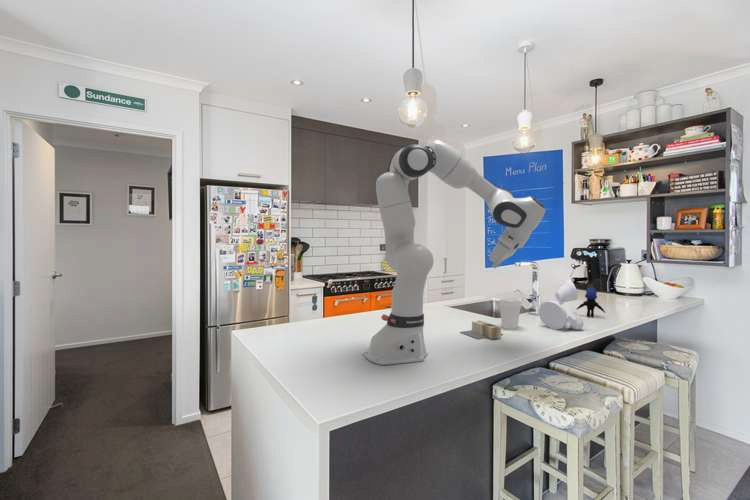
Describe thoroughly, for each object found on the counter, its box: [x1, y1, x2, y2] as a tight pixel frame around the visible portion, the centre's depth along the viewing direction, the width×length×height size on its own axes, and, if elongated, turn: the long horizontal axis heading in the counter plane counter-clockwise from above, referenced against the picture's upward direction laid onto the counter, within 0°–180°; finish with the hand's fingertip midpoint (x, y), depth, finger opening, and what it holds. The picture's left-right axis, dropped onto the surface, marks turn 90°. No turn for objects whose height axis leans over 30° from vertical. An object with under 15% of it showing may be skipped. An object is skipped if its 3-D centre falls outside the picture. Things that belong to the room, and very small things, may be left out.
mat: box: [459, 329, 504, 340], centre depth 159 cm, size 14×11×1 cm
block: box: [471, 320, 502, 340], centre depth 156 cm, size 4×5×12 cm
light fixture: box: [538, 279, 584, 331], centre depth 171 cm, size 25×16×18 cm
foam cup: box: [498, 296, 522, 330], centre depth 169 cm, size 10×9×13 cm
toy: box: [576, 287, 606, 318], centre depth 193 cm, size 13×6×15 cm, turn 58°
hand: (494, 266), depth 147 cm, fingers closed
